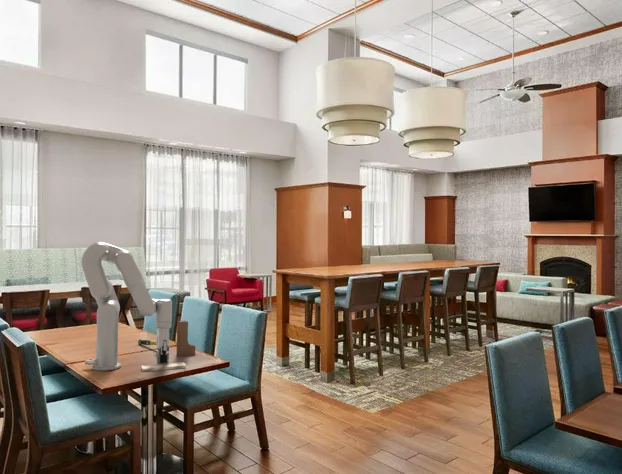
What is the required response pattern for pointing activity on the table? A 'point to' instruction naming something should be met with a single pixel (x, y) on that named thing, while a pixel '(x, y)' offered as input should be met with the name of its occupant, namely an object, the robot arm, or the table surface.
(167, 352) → the block
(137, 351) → the table surface
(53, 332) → the table surface
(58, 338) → the table surface
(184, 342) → the wooden block
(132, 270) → the robot arm
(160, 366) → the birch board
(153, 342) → the mallet
